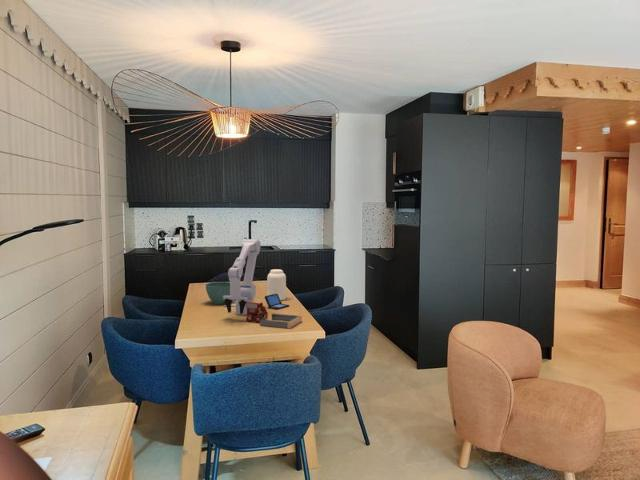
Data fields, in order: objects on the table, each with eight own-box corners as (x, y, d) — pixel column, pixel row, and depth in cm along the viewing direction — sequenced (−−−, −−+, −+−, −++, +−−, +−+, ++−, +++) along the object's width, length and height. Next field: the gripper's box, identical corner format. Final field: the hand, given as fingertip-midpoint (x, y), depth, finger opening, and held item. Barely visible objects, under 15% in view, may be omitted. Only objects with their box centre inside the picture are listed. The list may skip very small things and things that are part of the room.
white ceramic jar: (265, 300, 318) (265, 270, 317) (269, 297, 330) (269, 268, 329) (283, 301, 316) (283, 271, 315) (287, 297, 329) (287, 268, 327)
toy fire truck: (264, 323, 259) (264, 304, 258) (243, 321, 263) (243, 302, 262) (269, 320, 265) (269, 302, 264) (249, 318, 269) (249, 300, 268)
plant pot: (237, 304, 306) (237, 285, 305) (208, 306, 299) (208, 287, 298) (231, 299, 323) (231, 281, 322) (203, 301, 316) (203, 282, 315)
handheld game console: (277, 310, 291) (277, 298, 291) (263, 308, 297) (263, 296, 297) (290, 306, 301) (290, 295, 301) (277, 304, 308) (277, 293, 307)
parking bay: (259, 325, 254) (259, 319, 254) (272, 318, 269) (272, 313, 269) (290, 328, 249) (290, 322, 248) (301, 321, 264) (301, 316, 263)
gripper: (220, 289, 266) (220, 313, 267) (243, 291, 261) (243, 315, 262) (226, 287, 272) (227, 310, 274) (249, 288, 268) (249, 312, 269)
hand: (235, 312), depth 268 cm, fingers open, 7 cm apart
